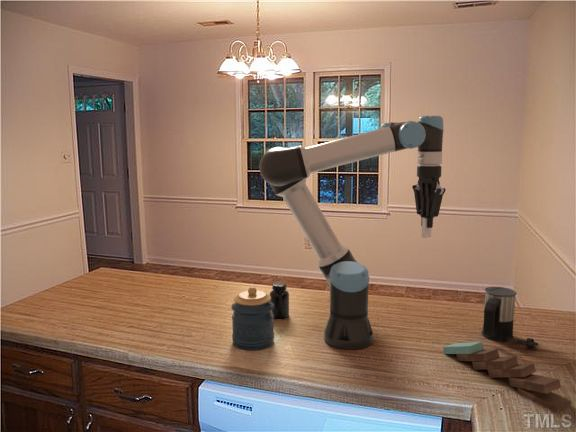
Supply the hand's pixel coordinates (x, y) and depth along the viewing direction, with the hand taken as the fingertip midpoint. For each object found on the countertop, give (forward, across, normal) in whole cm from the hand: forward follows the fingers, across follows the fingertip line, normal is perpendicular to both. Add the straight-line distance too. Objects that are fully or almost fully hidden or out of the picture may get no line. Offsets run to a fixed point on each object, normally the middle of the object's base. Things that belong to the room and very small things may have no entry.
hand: (426, 237), depth 157 cm
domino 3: (+29, +31, -8) cm, 43 cm away
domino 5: (+28, +43, -8) cm, 51 cm away
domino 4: (+29, +36, -8) cm, 47 cm away
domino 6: (+29, +45, -8) cm, 54 cm away
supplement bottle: (+30, -27, -41) cm, 57 cm away
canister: (+30, -12, -57) cm, 65 cm away
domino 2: (+29, +26, -8) cm, 39 cm away
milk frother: (+30, +23, +13) cm, 40 cm away
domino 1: (+28, +21, -8) cm, 36 cm away
